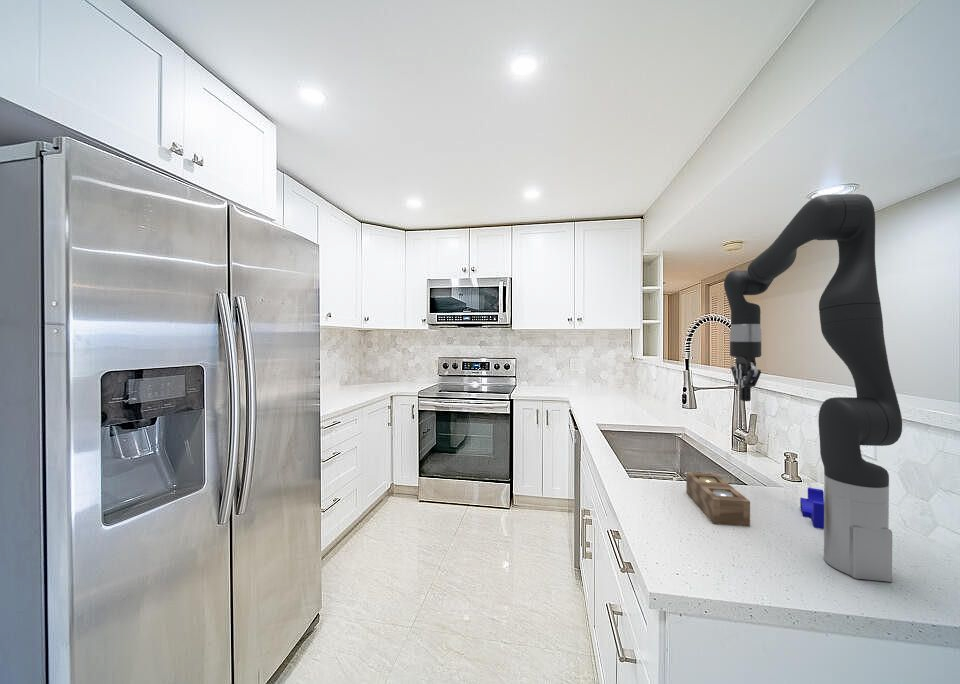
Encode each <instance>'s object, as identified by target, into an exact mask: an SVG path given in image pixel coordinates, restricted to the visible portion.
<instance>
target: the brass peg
mask: <svg viewBox="0 0 960 684" xmlns="http://www.w3.org/2000/svg"><path fill="white" fill-rule="evenodd" d="M699 480H700V481H701V482H717V480H716V479H714V478H710V477H699Z"/></svg>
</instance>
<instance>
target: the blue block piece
mask: <svg viewBox="0 0 960 684" xmlns="http://www.w3.org/2000/svg"><path fill="white" fill-rule="evenodd" d="M799 501H800V502H799V503H800V504H799V505H800V506H799V507H800V508H801V509H800V511H801V514H802V517H804V518H808V517H809V518H810V520H811V522H812V525H813V528H816V529H820V530H824V490H823V489H821V488H813V487H807V498H805V497H800V499H799Z"/></svg>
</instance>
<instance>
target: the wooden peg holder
mask: <svg viewBox="0 0 960 684" xmlns="http://www.w3.org/2000/svg"><path fill="white" fill-rule="evenodd" d="M685 477H686V479H685V481H686V484H685V485H686V489H685V491H686V492H685V493H686V494H687V495H688V497H690V499H691V500H692V501H693V502H694V503H695V504H696V506H698V508H699V509H700V510H701V511H702V512H703V514H704V515H705V516H706V517H707V518H708V519H709V521H710V522H711V523H712V524H713V525H724V526H736V527H749V528H750V527H751V501H750V500H749V499H747V497H745V496H743V494H741V492H739V491H738V490H737V489H735V488H734V487H733V486H732V485H731V484H730V483H728V482H727V481H726V480H724V479H723V478H722V477H721V476H720V475H718V473H712V472H711V473H706V472H691V471H690V472H689V471H686V476H685ZM699 477H710V478H714V479H716V480H717V482H701V481H700V480H699ZM714 490H724V491H728V492H731V493H732V494H733V497H727V496H716V495H715V494H714V493H713V491H714Z"/></svg>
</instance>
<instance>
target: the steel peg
mask: <svg viewBox="0 0 960 684" xmlns="http://www.w3.org/2000/svg"><path fill="white" fill-rule="evenodd" d="M713 493H714V494H715V495H716V496H727V497H733V494H732V493H731V492H728V491H724V490H714V491H713Z"/></svg>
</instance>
